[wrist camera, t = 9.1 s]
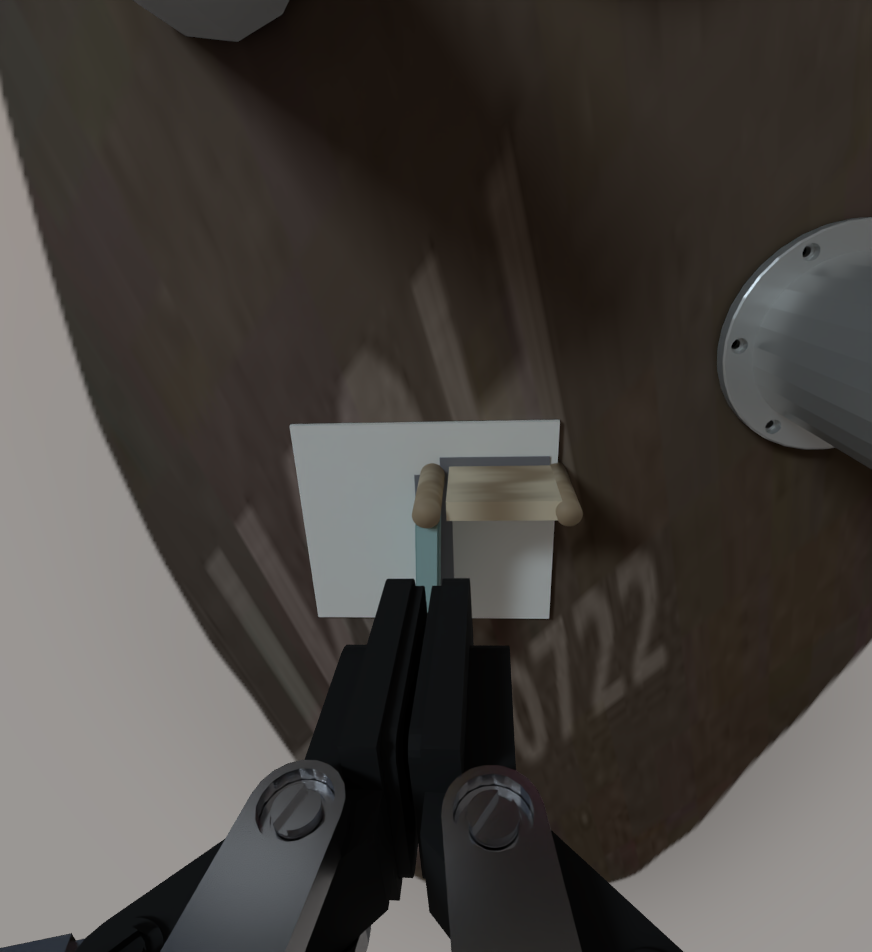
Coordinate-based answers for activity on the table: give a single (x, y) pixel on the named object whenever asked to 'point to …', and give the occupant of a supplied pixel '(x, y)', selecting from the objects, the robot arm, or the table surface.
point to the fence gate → (428, 558)
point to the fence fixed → (496, 494)
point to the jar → (216, 16)
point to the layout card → (391, 503)
